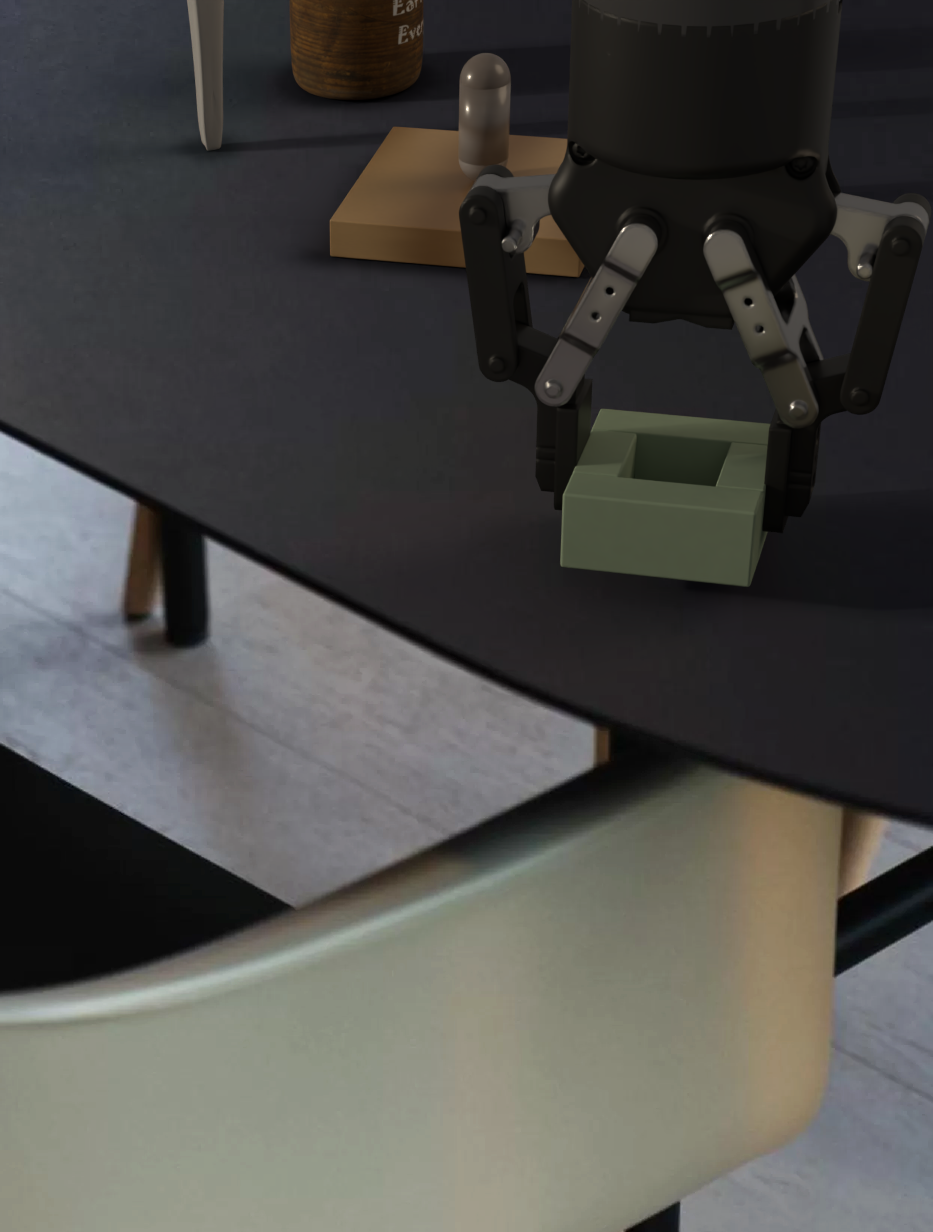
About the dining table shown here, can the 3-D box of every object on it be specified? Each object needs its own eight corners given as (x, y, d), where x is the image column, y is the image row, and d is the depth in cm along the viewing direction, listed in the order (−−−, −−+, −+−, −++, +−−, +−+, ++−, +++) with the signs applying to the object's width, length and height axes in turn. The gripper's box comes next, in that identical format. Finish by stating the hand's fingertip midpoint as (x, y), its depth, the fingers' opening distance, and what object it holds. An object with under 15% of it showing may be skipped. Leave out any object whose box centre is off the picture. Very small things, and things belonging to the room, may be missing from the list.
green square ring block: (778, 497, 88) (785, 424, 86) (749, 588, 84) (756, 512, 82) (597, 479, 90) (600, 407, 88) (559, 568, 85) (562, 493, 84)
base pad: (628, 178, 111) (637, 18, 107) (579, 277, 104) (587, 109, 100) (393, 160, 114) (393, 3, 110) (329, 256, 107) (327, 92, 103)
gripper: (424, 1, 75) (425, 544, 85) (958, 27, 71) (887, 593, 82) (486, -85, 80) (479, 437, 91) (985, -64, 76) (916, 477, 87)
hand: (673, 508), depth 86 cm, fingers closed on green square ring block, 6 cm apart
